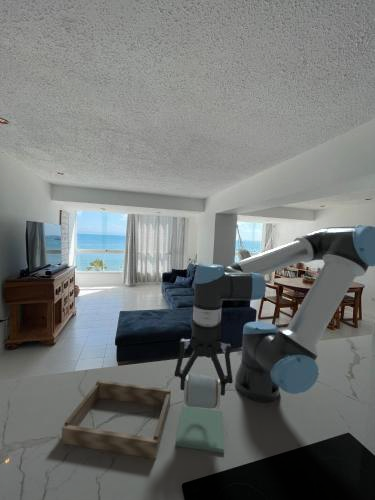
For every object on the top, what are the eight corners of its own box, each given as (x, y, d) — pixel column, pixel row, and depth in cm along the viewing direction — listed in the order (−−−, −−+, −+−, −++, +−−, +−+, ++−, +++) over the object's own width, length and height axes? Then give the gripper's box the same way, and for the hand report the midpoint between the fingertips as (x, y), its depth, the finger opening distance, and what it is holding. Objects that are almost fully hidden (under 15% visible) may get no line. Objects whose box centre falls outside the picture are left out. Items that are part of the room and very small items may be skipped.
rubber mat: (221, 414, 66) (222, 411, 66) (223, 453, 54) (224, 449, 54) (182, 409, 67) (182, 406, 67) (175, 445, 55) (175, 441, 55)
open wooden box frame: (170, 404, 68) (170, 389, 68) (156, 458, 51) (156, 438, 51) (97, 395, 71) (97, 380, 71) (61, 443, 54) (62, 423, 54)
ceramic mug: (217, 416, 56) (219, 386, 56) (186, 413, 56) (187, 384, 56) (214, 388, 66) (215, 363, 66) (187, 386, 67) (188, 361, 67)
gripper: (165, 322, 56) (160, 407, 57) (248, 331, 54) (242, 419, 55) (170, 313, 64) (166, 388, 65) (244, 320, 61) (239, 398, 62)
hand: (201, 402), depth 60 cm, fingers closed on ceramic mug, 8 cm apart
